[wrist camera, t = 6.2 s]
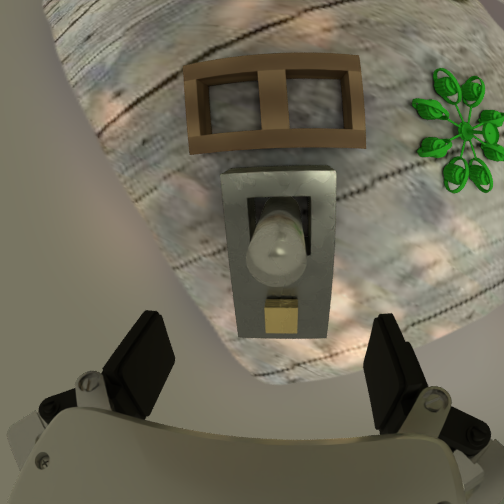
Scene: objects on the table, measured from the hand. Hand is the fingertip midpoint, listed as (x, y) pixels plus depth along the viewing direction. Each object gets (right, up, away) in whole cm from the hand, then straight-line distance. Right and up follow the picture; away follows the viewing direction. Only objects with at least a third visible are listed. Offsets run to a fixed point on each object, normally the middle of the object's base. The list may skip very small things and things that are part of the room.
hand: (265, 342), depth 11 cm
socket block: (+3, +4, +19) cm, 20 cm away
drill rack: (+2, +19, +13) cm, 23 cm away
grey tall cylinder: (+3, +8, +18) cm, 20 cm away
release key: (+3, 0, +21) cm, 21 cm away
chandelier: (+23, +18, +11) cm, 31 cm away
